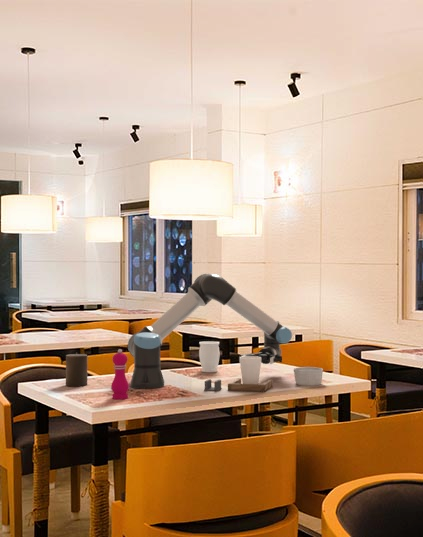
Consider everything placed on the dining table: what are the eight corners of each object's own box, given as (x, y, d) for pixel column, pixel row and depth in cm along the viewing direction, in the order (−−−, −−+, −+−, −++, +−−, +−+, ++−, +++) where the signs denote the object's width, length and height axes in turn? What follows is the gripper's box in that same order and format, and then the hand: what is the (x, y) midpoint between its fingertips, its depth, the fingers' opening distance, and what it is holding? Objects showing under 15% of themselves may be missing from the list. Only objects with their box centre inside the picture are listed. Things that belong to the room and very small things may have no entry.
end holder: (264, 392, 319) (264, 385, 319) (227, 390, 324) (227, 383, 324) (272, 386, 334) (272, 379, 334) (237, 385, 339) (237, 378, 339)
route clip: (217, 391, 322) (217, 381, 322) (204, 390, 324) (204, 381, 324) (221, 389, 328) (221, 379, 328) (208, 388, 330) (208, 379, 330)
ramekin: (313, 387, 332) (313, 371, 332) (288, 384, 340) (288, 369, 340) (328, 383, 342) (328, 368, 342) (303, 381, 350) (303, 366, 350)
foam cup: (261, 385, 333) (261, 356, 333) (261, 389, 324) (261, 358, 324) (240, 385, 334) (240, 356, 334) (239, 388, 325) (238, 358, 325)
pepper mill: (129, 396, 310) (129, 348, 310) (128, 399, 303) (128, 349, 303) (112, 396, 310) (111, 348, 310) (110, 399, 303) (110, 350, 303)
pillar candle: (79, 387, 335) (79, 353, 335) (61, 386, 339) (61, 352, 339) (91, 384, 344) (91, 351, 344) (73, 383, 348) (74, 350, 348)
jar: (196, 370, 388) (196, 341, 388) (216, 369, 391) (215, 340, 391) (202, 373, 378) (202, 343, 378) (222, 372, 381) (222, 342, 381)
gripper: (293, 364, 355) (283, 369, 334) (241, 362, 362) (229, 367, 342) (293, 348, 355) (283, 352, 334) (241, 346, 362) (229, 351, 342)
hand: (256, 360), depth 338 cm, fingers open, 13 cm apart
